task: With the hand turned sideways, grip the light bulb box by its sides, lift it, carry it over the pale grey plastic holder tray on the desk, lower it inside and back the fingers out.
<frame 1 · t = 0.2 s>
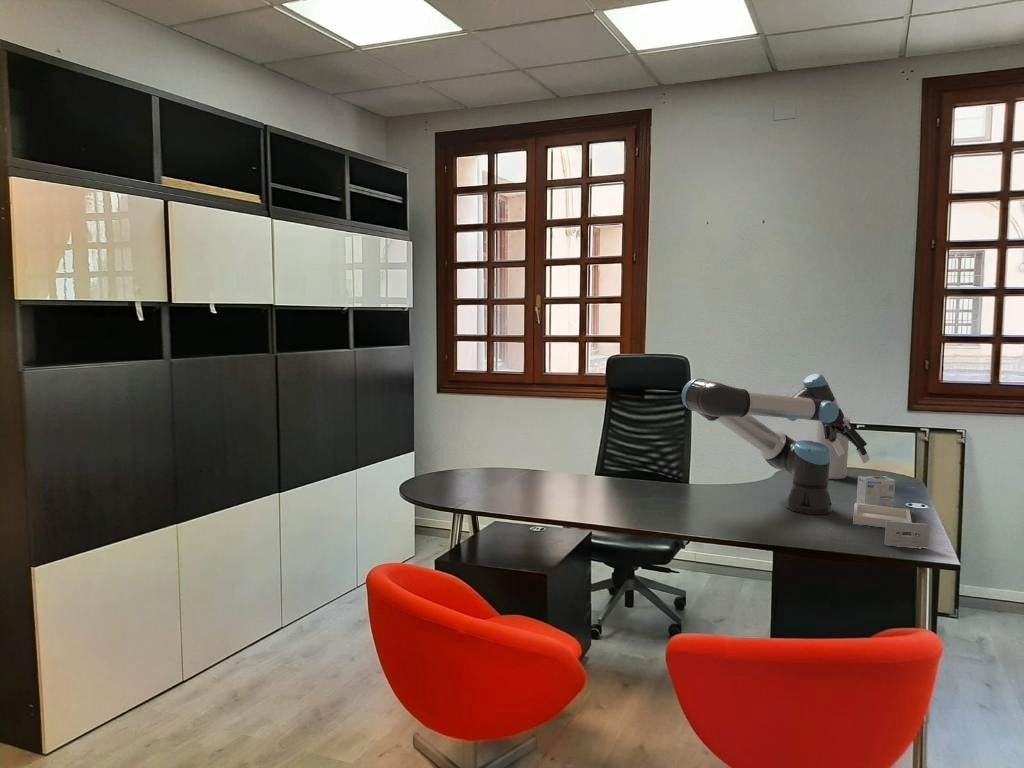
hand: (854, 457, 280), 14 cm above the table, tool tilted 35°, fingers open, 13 cm apart
holder tray: (881, 521, 249), on the table
cassette: (905, 548, 223), on the table
light bulb box: (874, 507, 266), on the table
cylinder vase: (829, 476, 312), on the table
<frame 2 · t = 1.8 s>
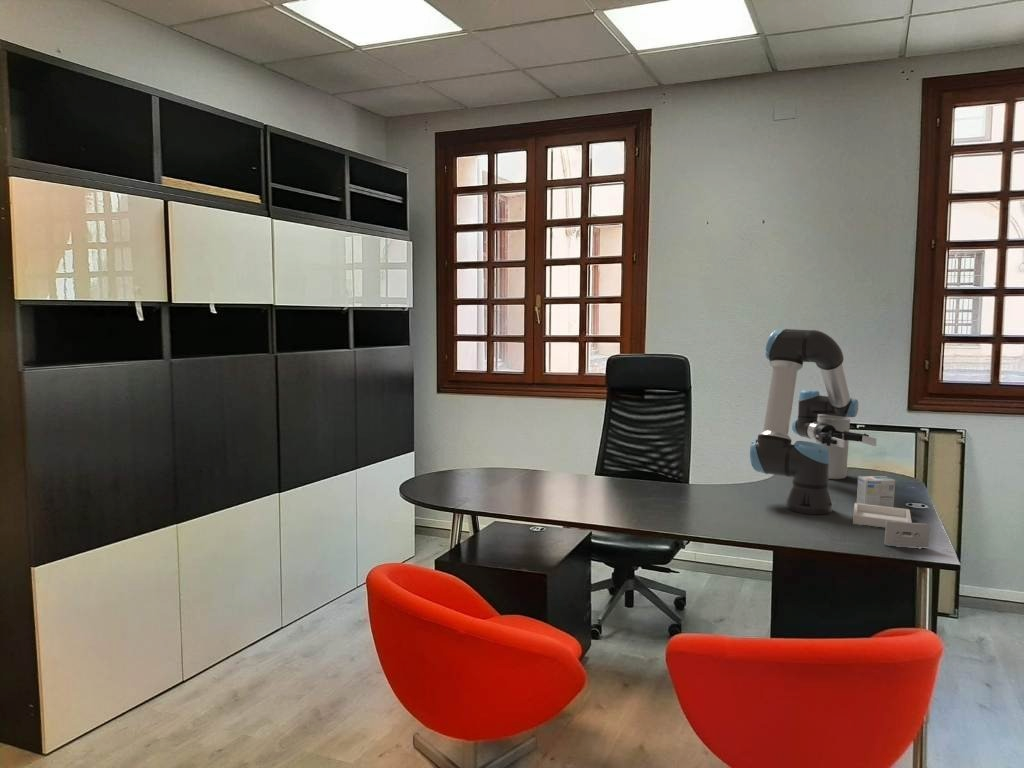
hand: (859, 443, 273), 21 cm above the table, tool horizontal, fingers open, 13 cm apart
nothing on the table moved.
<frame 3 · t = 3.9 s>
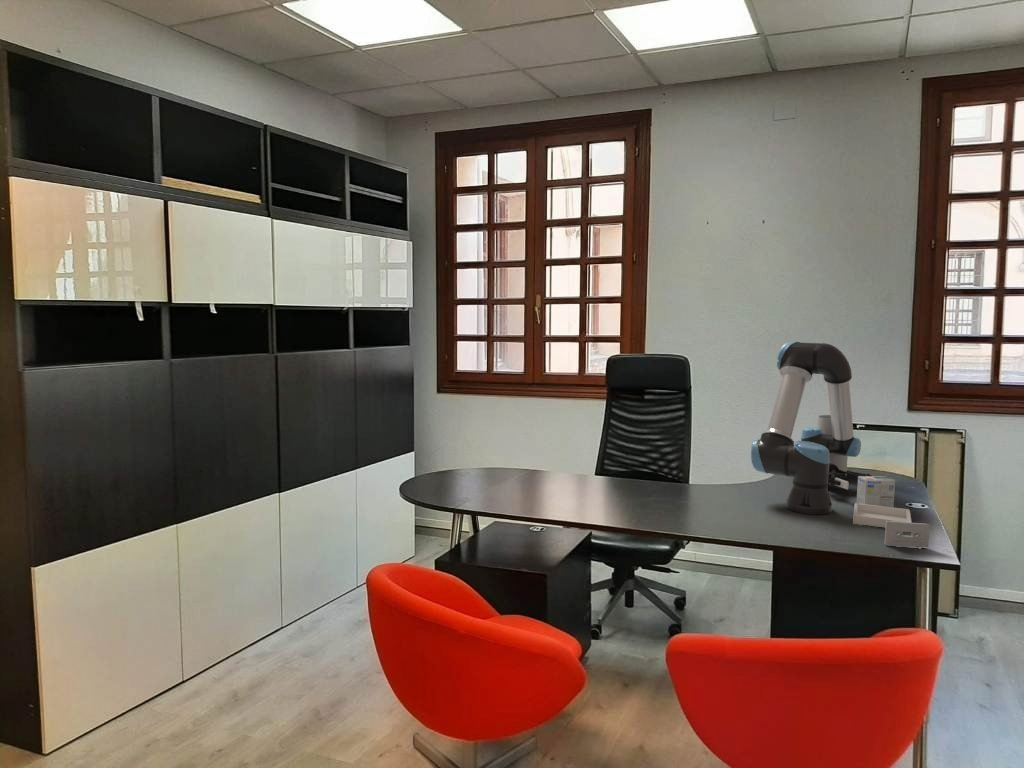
hand: (863, 484, 272), 6 cm above the table, tool horizontal, fingers open, 13 cm apart
nothing on the table moved.
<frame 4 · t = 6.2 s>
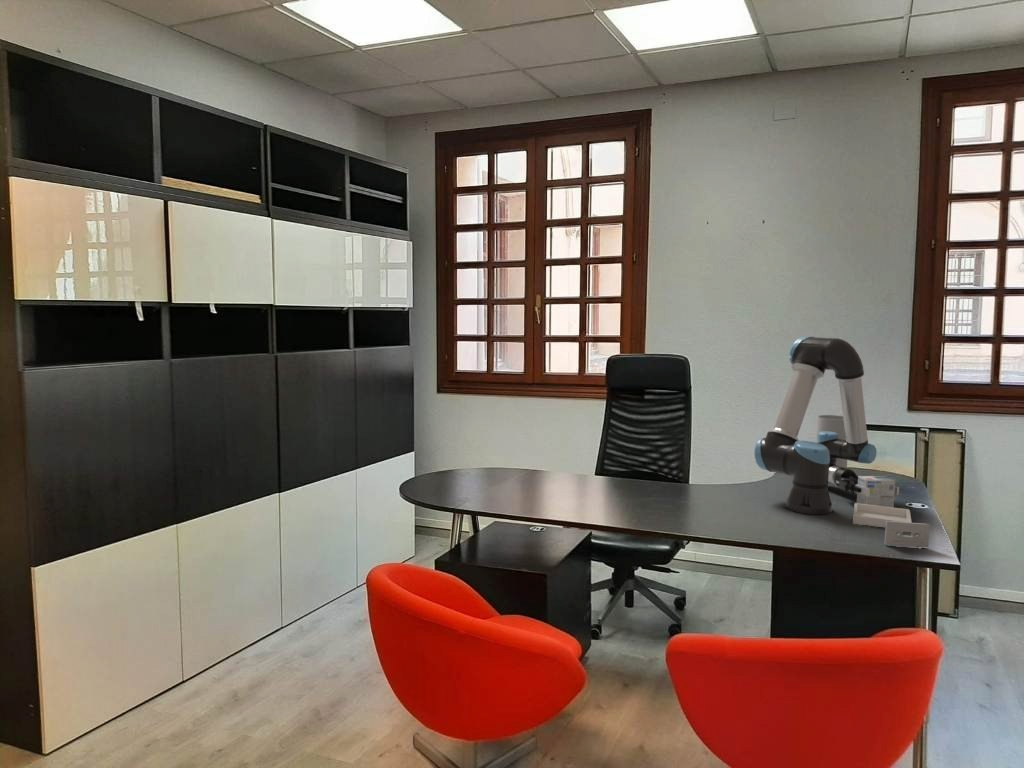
hand: (883, 491, 262), 7 cm above the table, tool horizontal, fingers closed on light bulb box, 11 cm apart
light bulb box: (874, 507, 266), on the table, touching gripper
everything else where it was.
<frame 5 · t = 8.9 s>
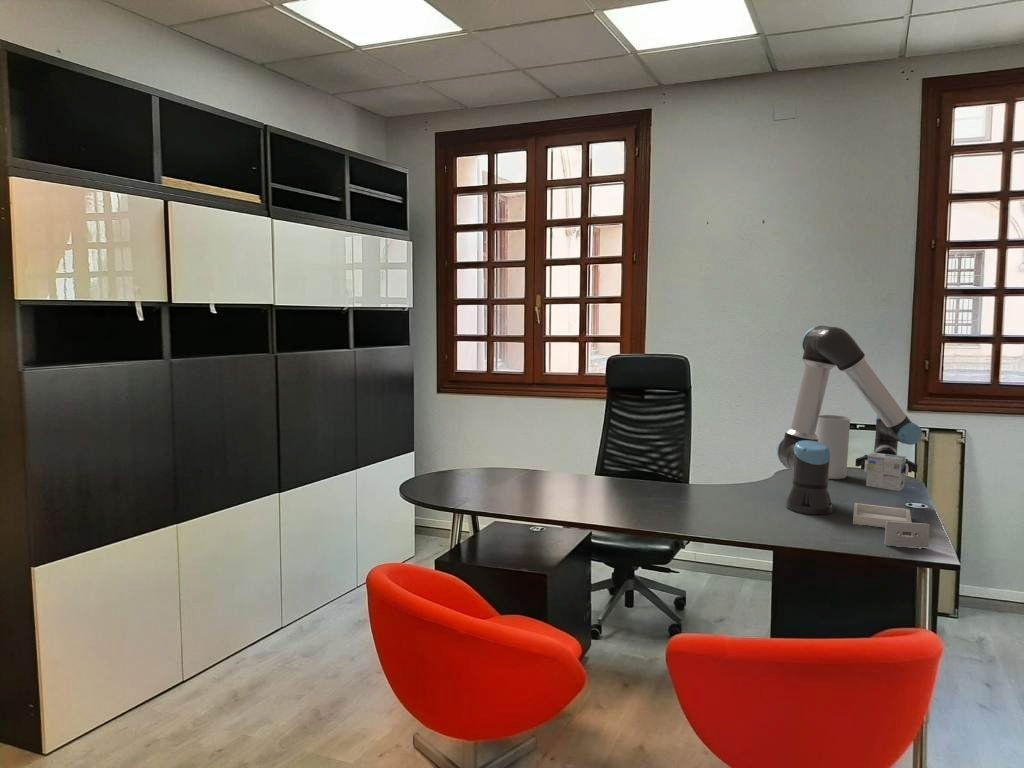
hand: (886, 470, 245), 18 cm above the table, tool horizontal, fingers closed on light bulb box, 11 cm apart
light bulb box: (884, 487, 249), point 11 cm above the table, touching gripper
everything else where it was.
when the fingers open (8 cm above the table, at t = 11.5 s): light bulb box drops 1 cm, resting on holder tray.
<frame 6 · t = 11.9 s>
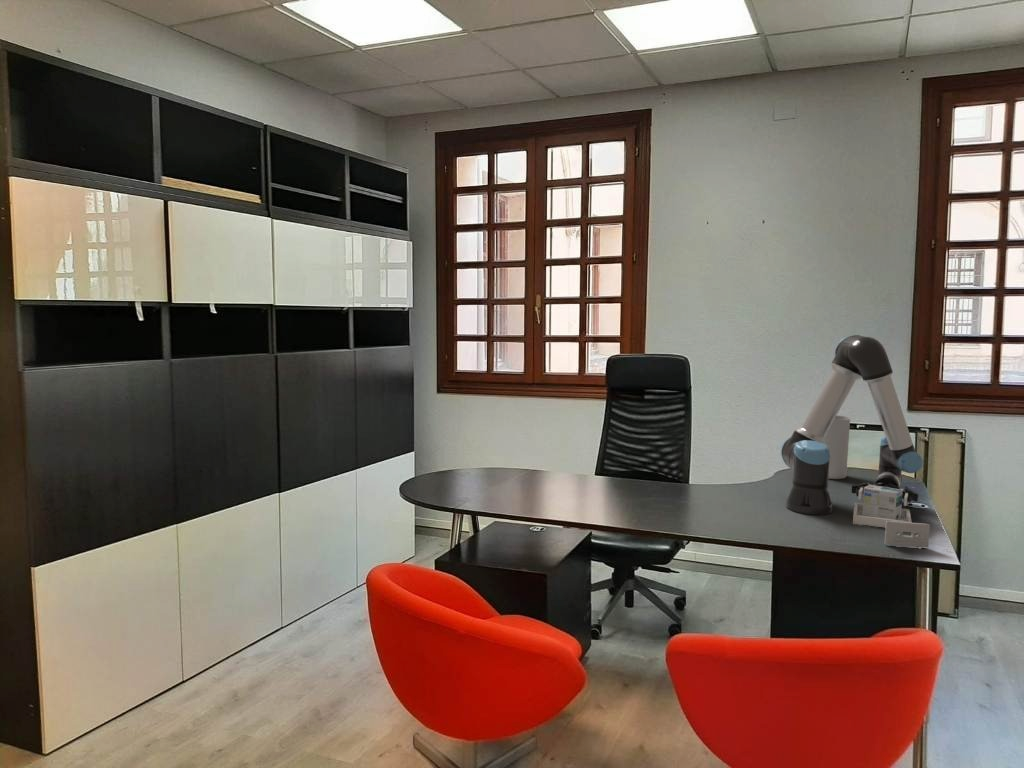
hand: (882, 498, 245), 8 cm above the table, tool horizontal, fingers open, 13 cm apart
light bulb box: (881, 520, 249), resting on holder tray
everything else where it was.
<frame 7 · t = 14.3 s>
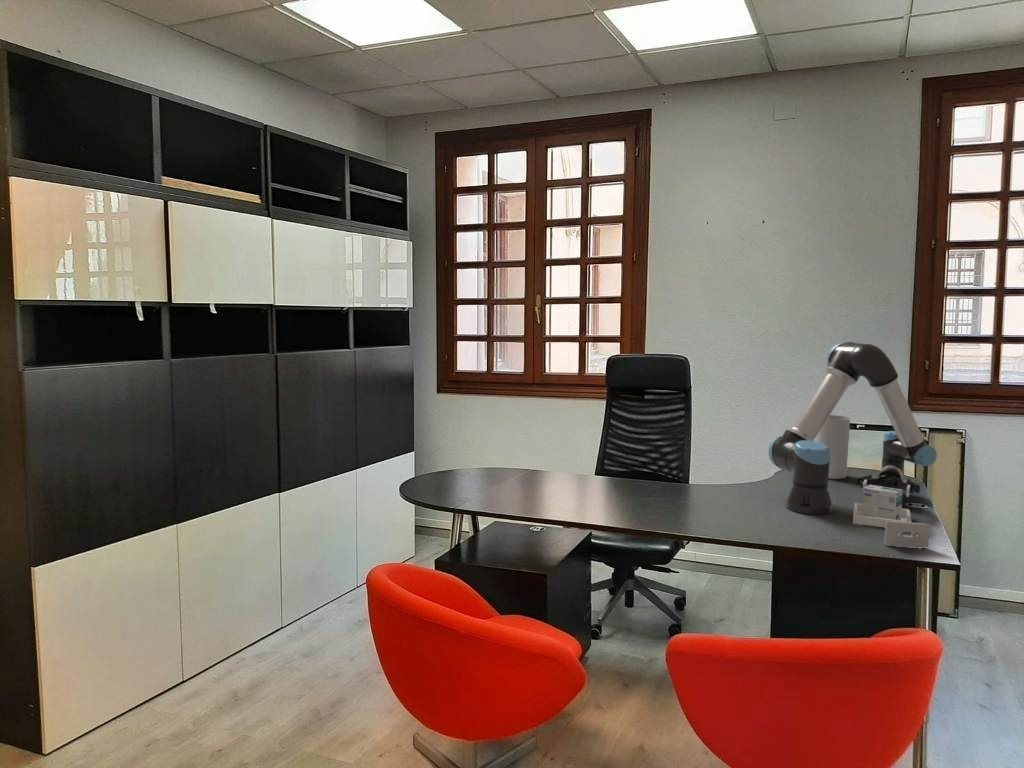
hand: (885, 490, 256), 9 cm above the table, tool horizontal, fingers open, 13 cm apart
nothing on the table moved.
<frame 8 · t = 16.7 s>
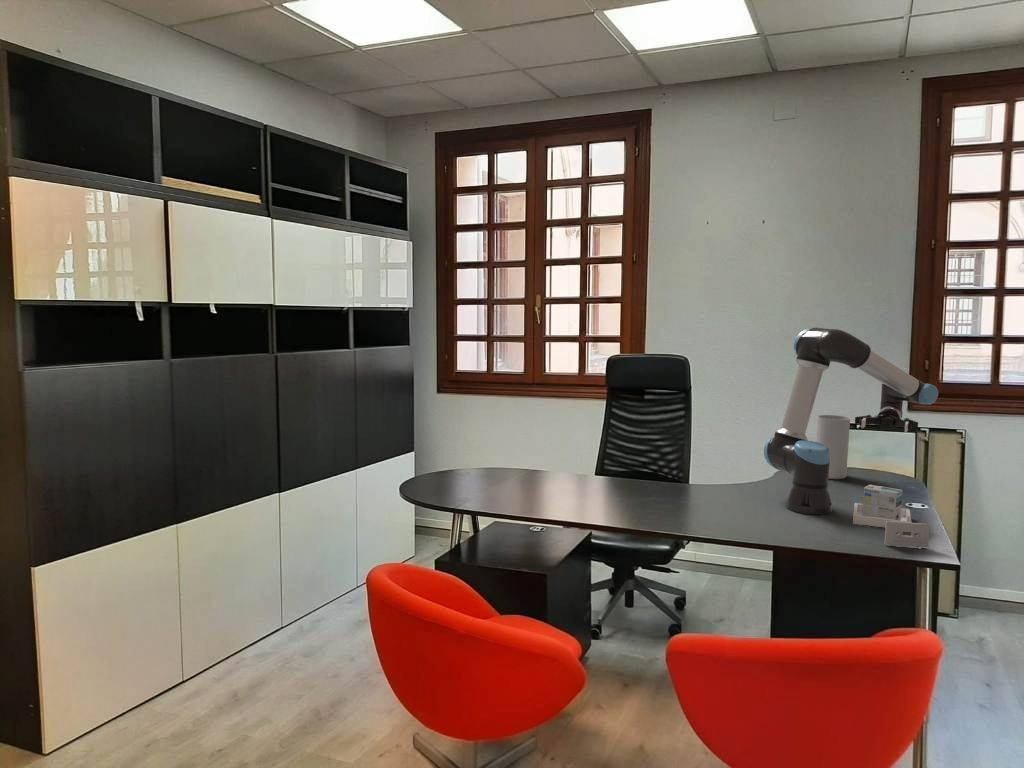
hand: (884, 426, 259), 30 cm above the table, tool horizontal, fingers open, 13 cm apart
nothing on the table moved.
at the end: light bulb box inside the target area on the holder tray (0.1 cm from its centre), point 0.3 cm above the holder tray's base; light bulb box tilted 0°; the gripper is holding nothing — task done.
